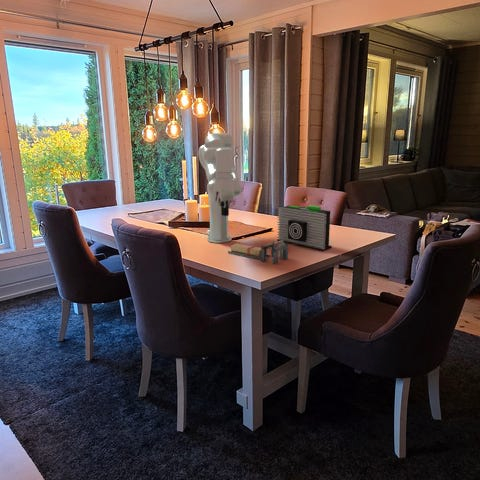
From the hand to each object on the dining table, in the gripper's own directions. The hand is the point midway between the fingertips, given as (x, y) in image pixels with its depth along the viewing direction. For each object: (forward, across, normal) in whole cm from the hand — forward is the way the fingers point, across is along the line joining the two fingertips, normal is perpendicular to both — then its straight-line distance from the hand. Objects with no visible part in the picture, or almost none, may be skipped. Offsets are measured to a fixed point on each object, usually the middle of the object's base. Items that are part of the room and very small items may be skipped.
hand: (225, 215), depth 189 cm
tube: (+17, 0, +13) cm, 22 cm away
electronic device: (+17, -29, +25) cm, 42 cm away
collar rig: (+17, 0, +28) cm, 33 cm away
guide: (+17, 0, +13) cm, 22 cm away
